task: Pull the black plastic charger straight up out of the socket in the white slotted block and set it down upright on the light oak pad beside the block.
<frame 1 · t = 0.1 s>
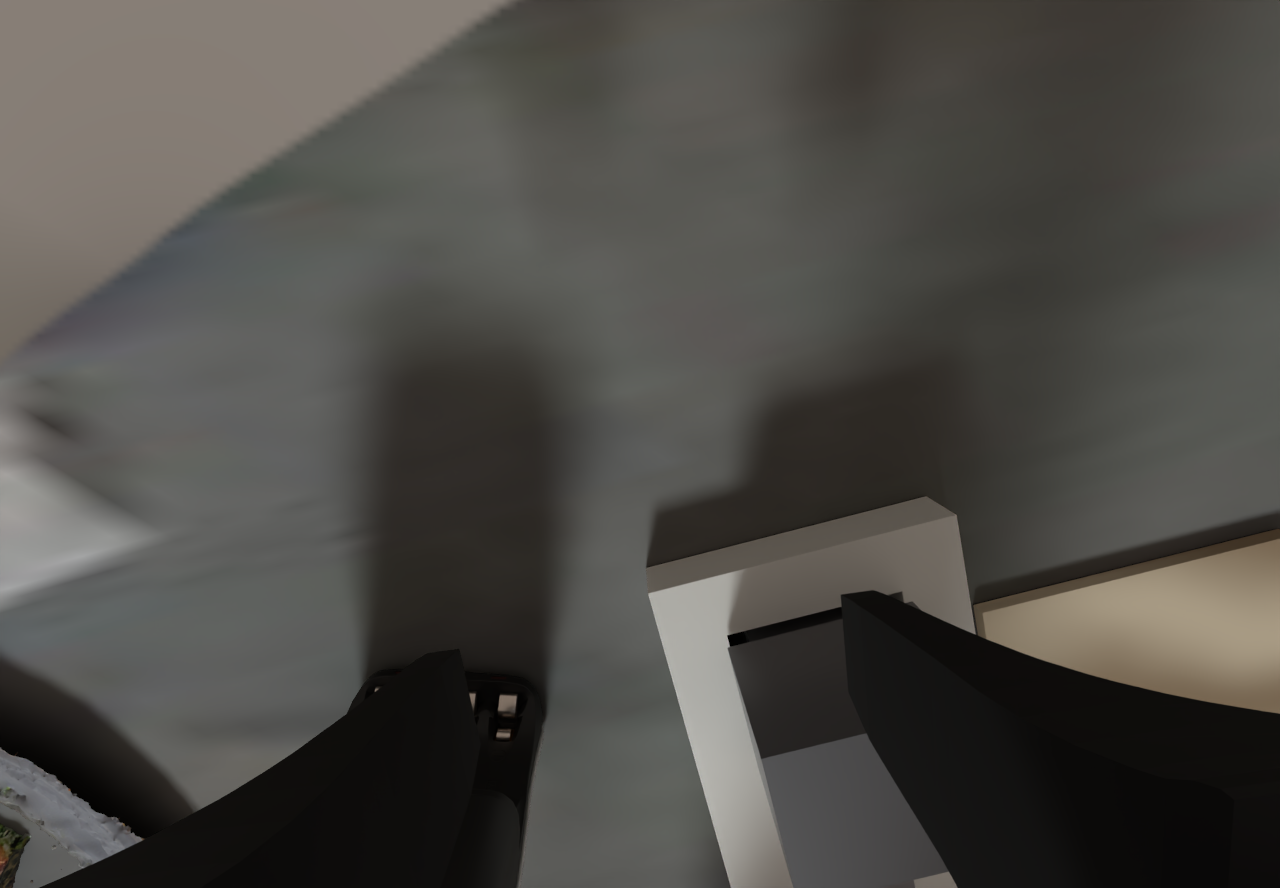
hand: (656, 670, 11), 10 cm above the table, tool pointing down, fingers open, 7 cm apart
battery charger: (455, 693, 23), on the table
white slotted block: (833, 749, 23), on the table
charger: (810, 645, 23), resting in white slotted block
pad: (1137, 699, 23), on the table
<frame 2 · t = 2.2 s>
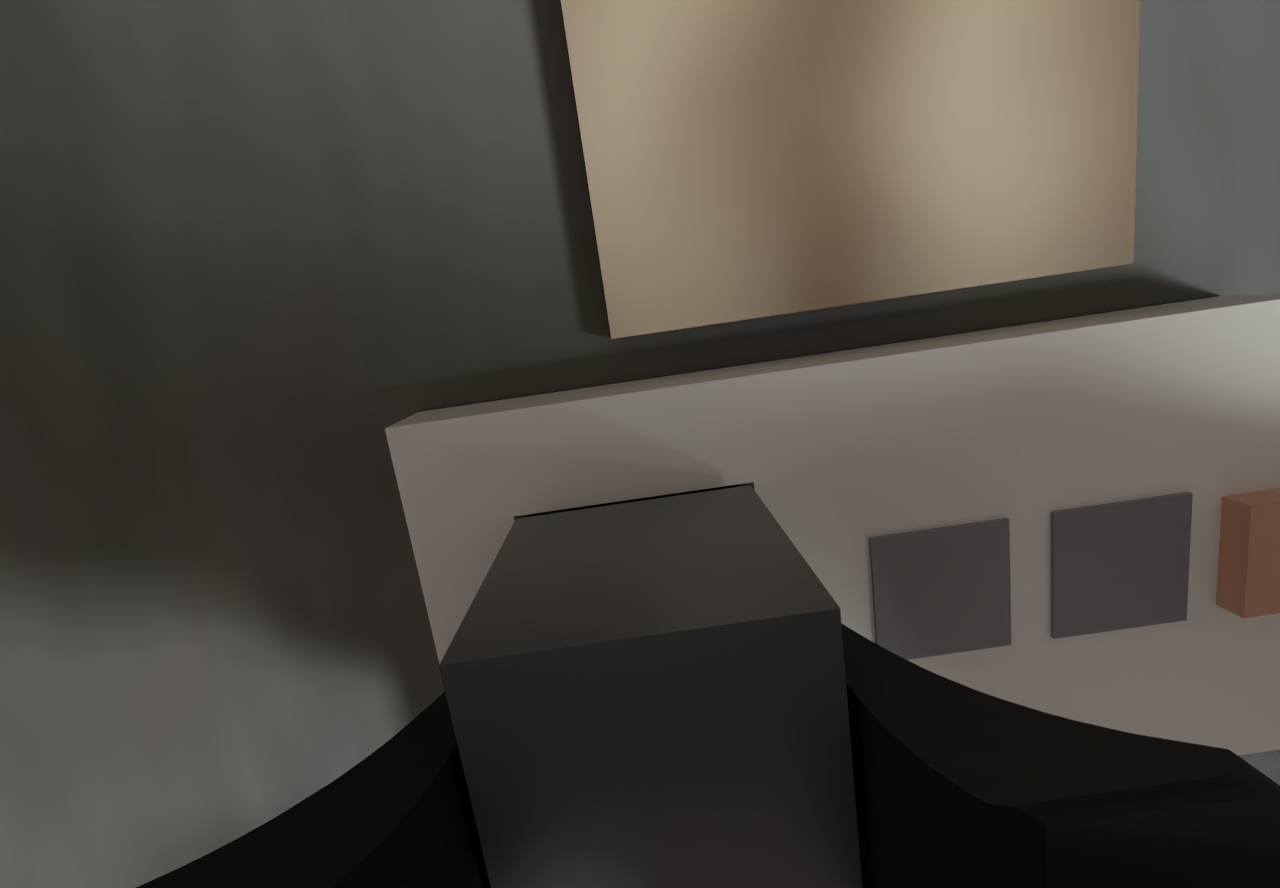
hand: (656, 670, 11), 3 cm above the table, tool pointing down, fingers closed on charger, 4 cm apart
white slotted block: (836, 563, 15), on the table
charger: (649, 589, 15), resting in white slotted block, touching gripper
pad: (843, 22, 12), on the table
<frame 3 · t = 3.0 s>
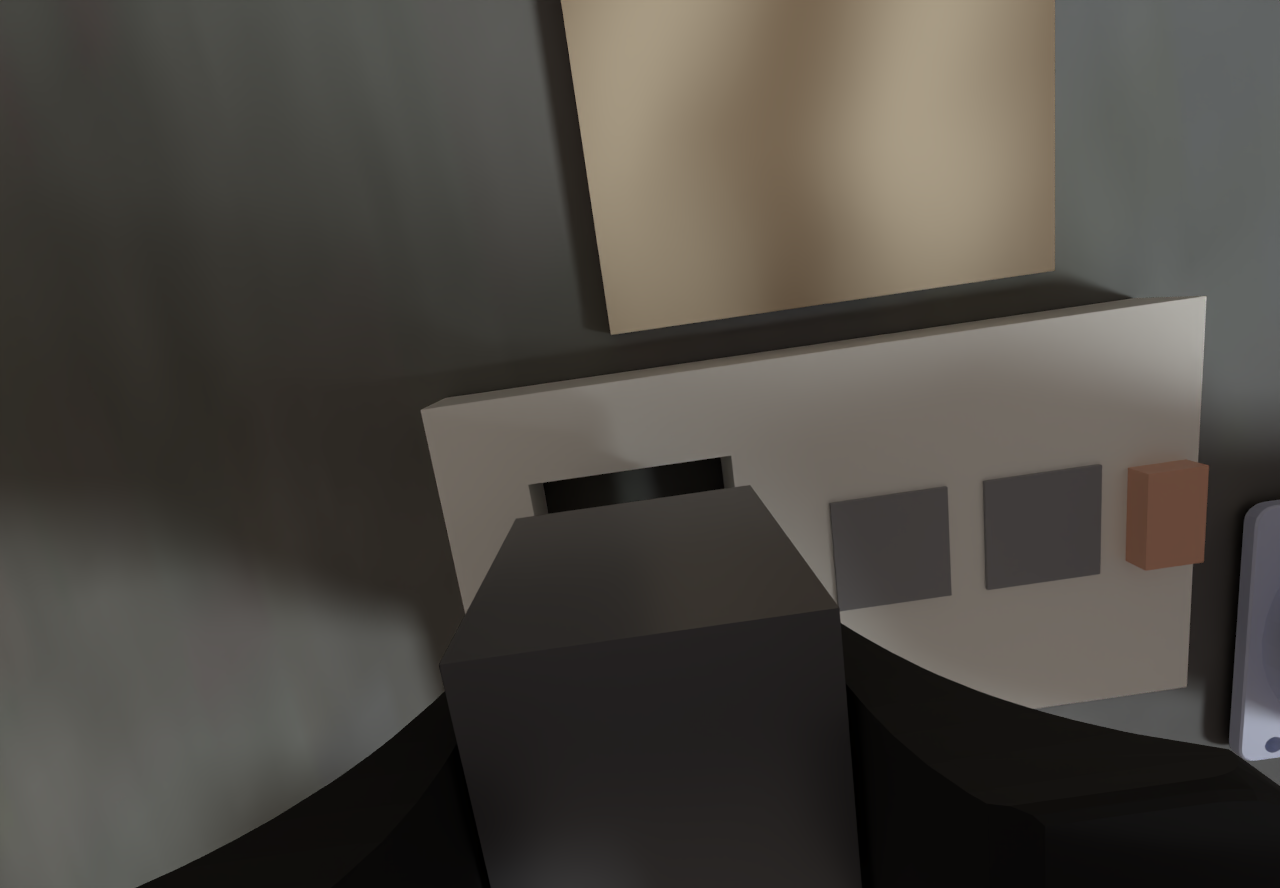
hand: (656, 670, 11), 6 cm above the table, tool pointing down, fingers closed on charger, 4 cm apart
white slotted block: (805, 529, 17), on the table
charger: (649, 589, 15), point 2 cm above the table, touching gripper
pad: (806, 66, 15), on the table
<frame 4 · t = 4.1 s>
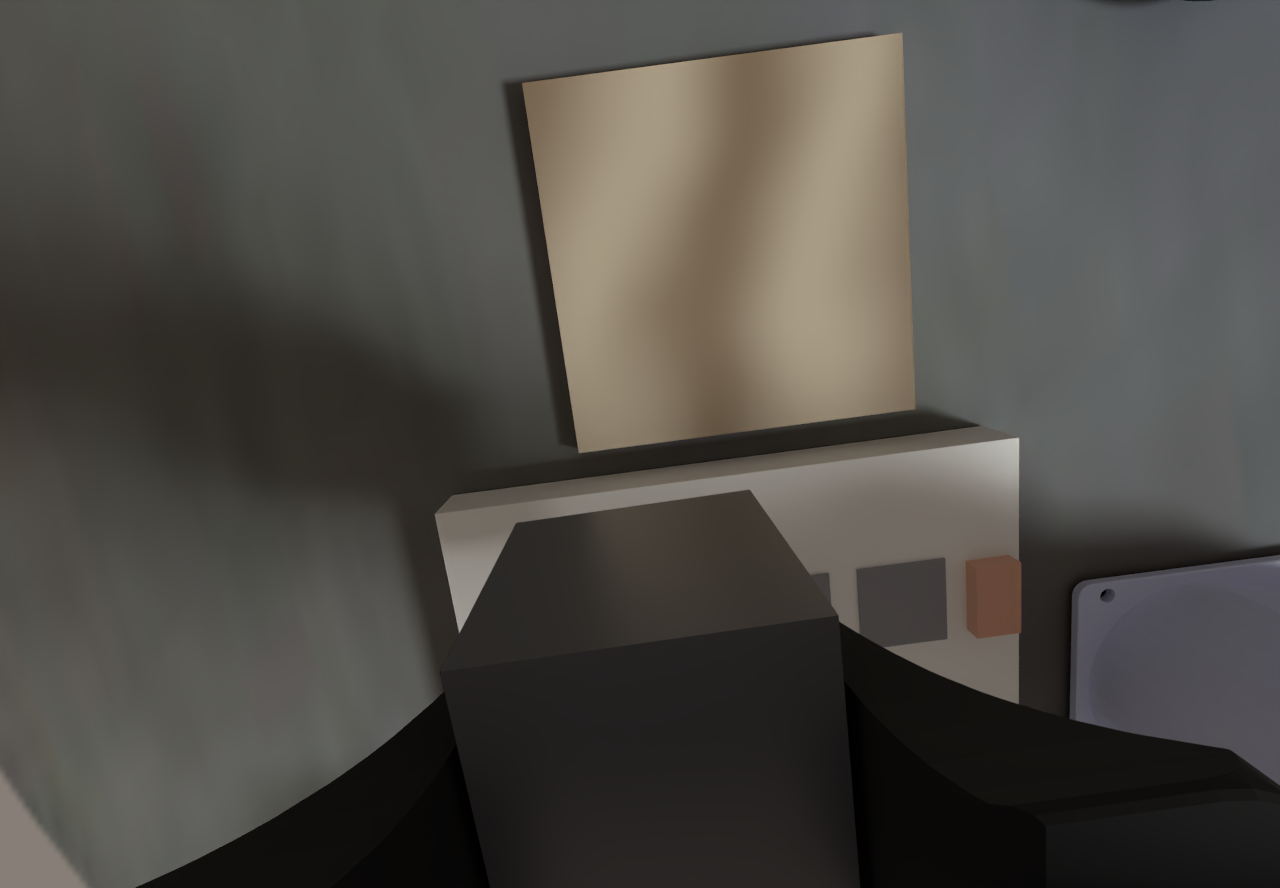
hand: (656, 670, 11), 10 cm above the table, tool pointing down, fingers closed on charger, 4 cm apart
white slotted block: (731, 596, 22), on the table
charger: (649, 592, 15), point 6 cm above the table, touching gripper
pad: (727, 257, 20), on the table
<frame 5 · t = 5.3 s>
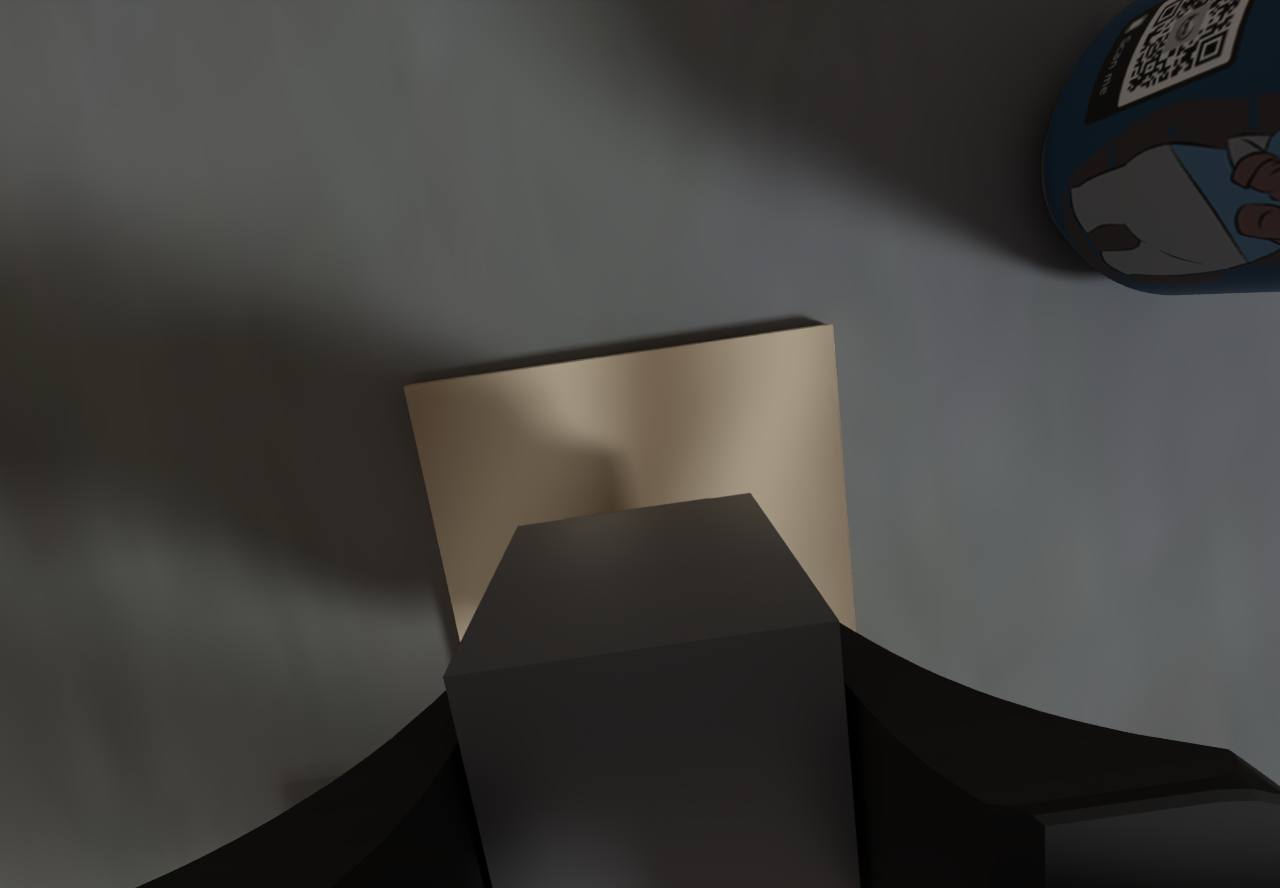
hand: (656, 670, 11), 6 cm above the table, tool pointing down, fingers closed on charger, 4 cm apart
soda can: (1144, 157, 16), on the table
charger: (650, 594, 15), point 3 cm above the table, touching gripper
pad: (646, 549, 17), on the table
when the fingers open (5 cm above the table, at t = 6.4 s): charger stays where it is, resting on pad.
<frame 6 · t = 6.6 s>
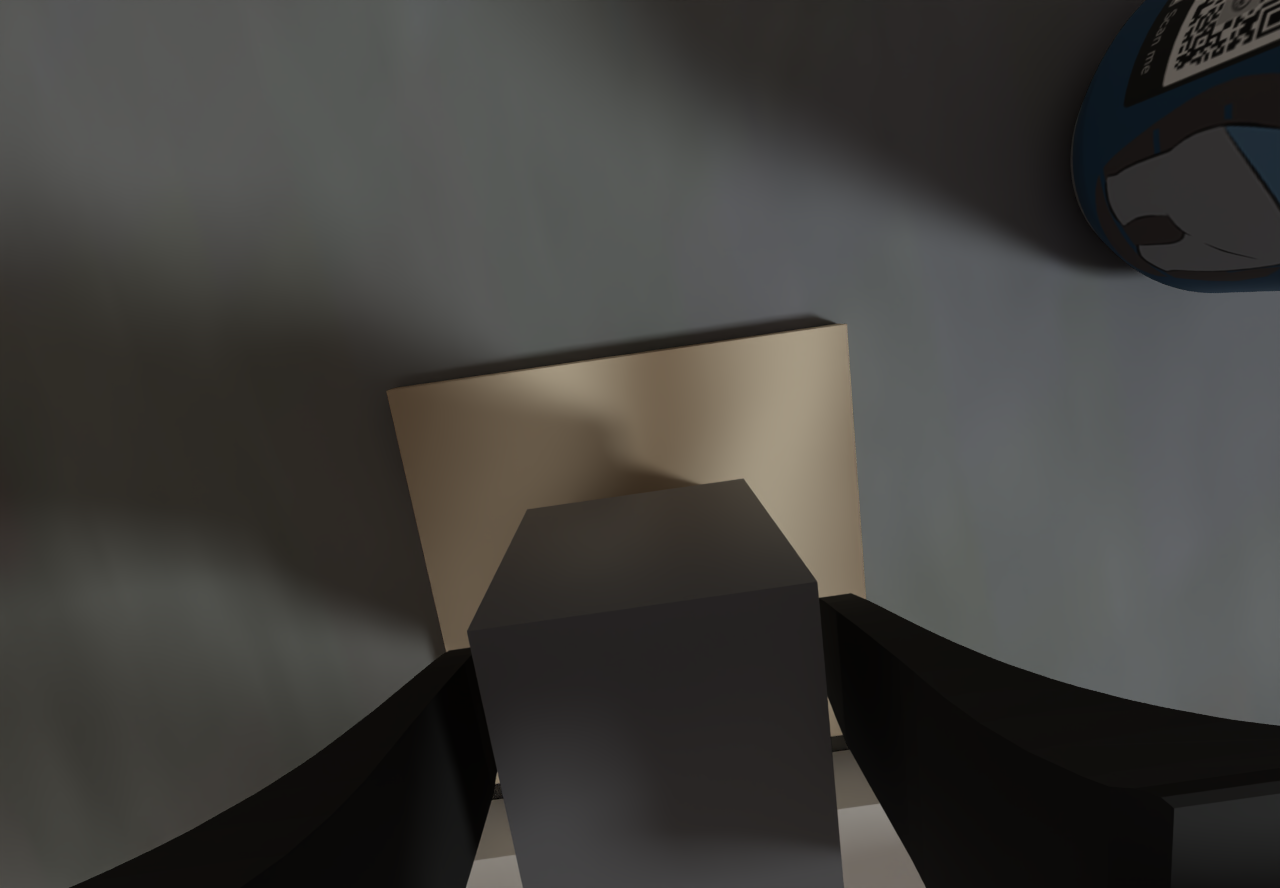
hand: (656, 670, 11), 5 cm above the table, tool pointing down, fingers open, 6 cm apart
soda can: (1179, 145, 15), on the table
charger: (650, 577, 16), point 1 cm above the table, touching pad
pad: (647, 563, 16), on the table
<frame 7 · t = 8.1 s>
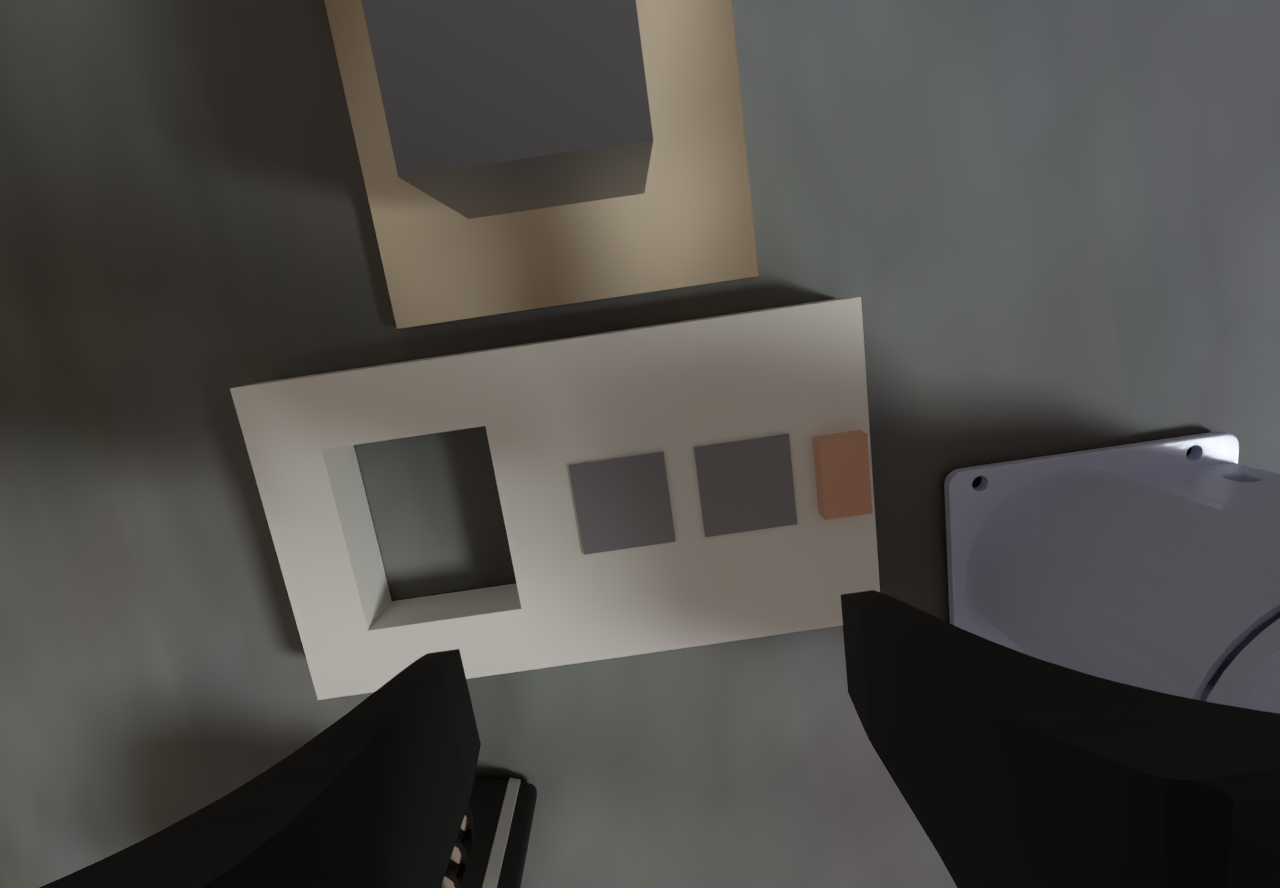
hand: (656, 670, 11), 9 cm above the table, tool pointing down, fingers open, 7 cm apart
battery charger: (477, 839, 23), on the table
white slotted block: (578, 491, 20), on the table
charger: (548, 109, 18), point 1 cm above the table, touching pad
pad: (548, 111, 18), on the table
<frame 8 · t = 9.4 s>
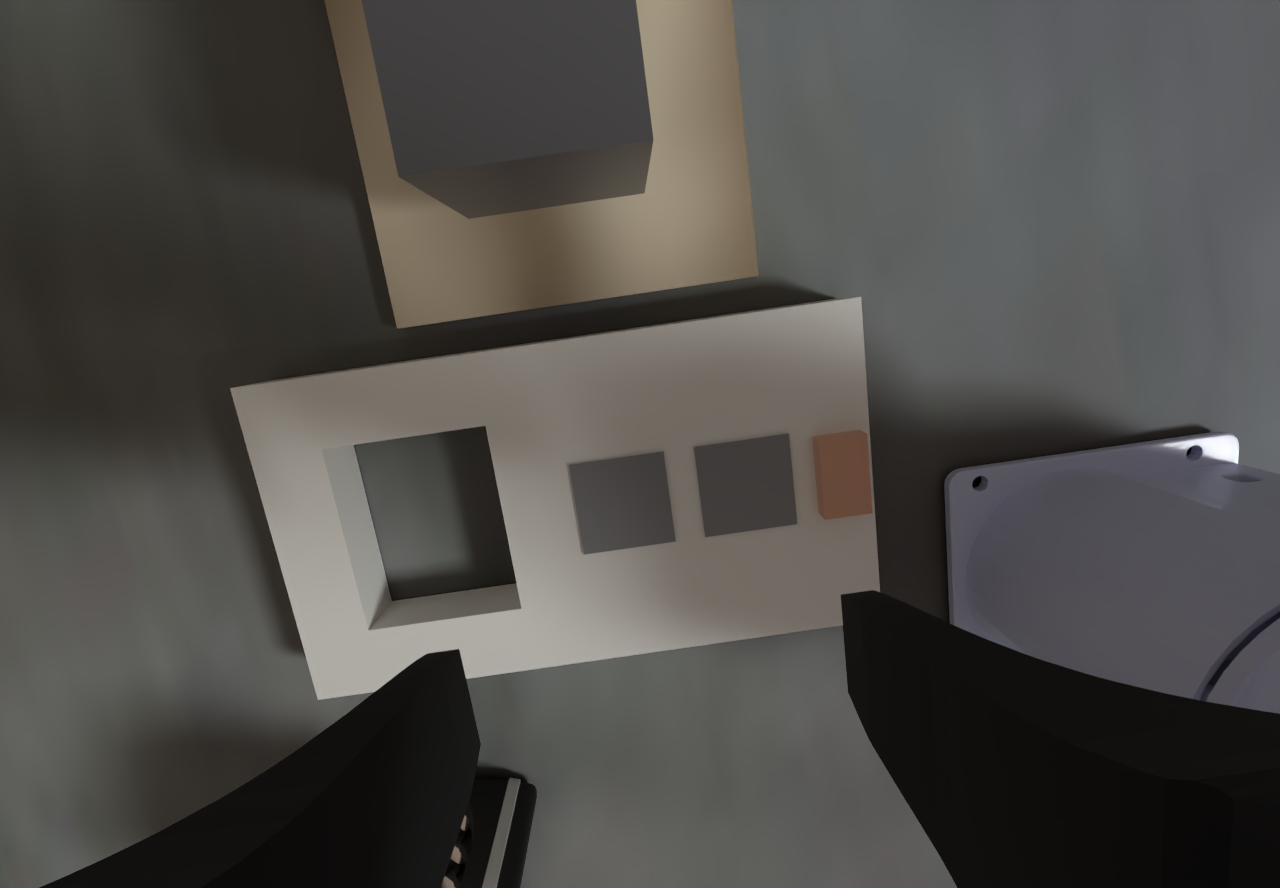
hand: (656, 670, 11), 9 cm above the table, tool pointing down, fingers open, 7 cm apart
battery charger: (477, 839, 23), on the table
white slotted block: (578, 491, 20), on the table
charger: (548, 109, 18), point 1 cm above the table, touching pad
pad: (548, 111, 18), on the table
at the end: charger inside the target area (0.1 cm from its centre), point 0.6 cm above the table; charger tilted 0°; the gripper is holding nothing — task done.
